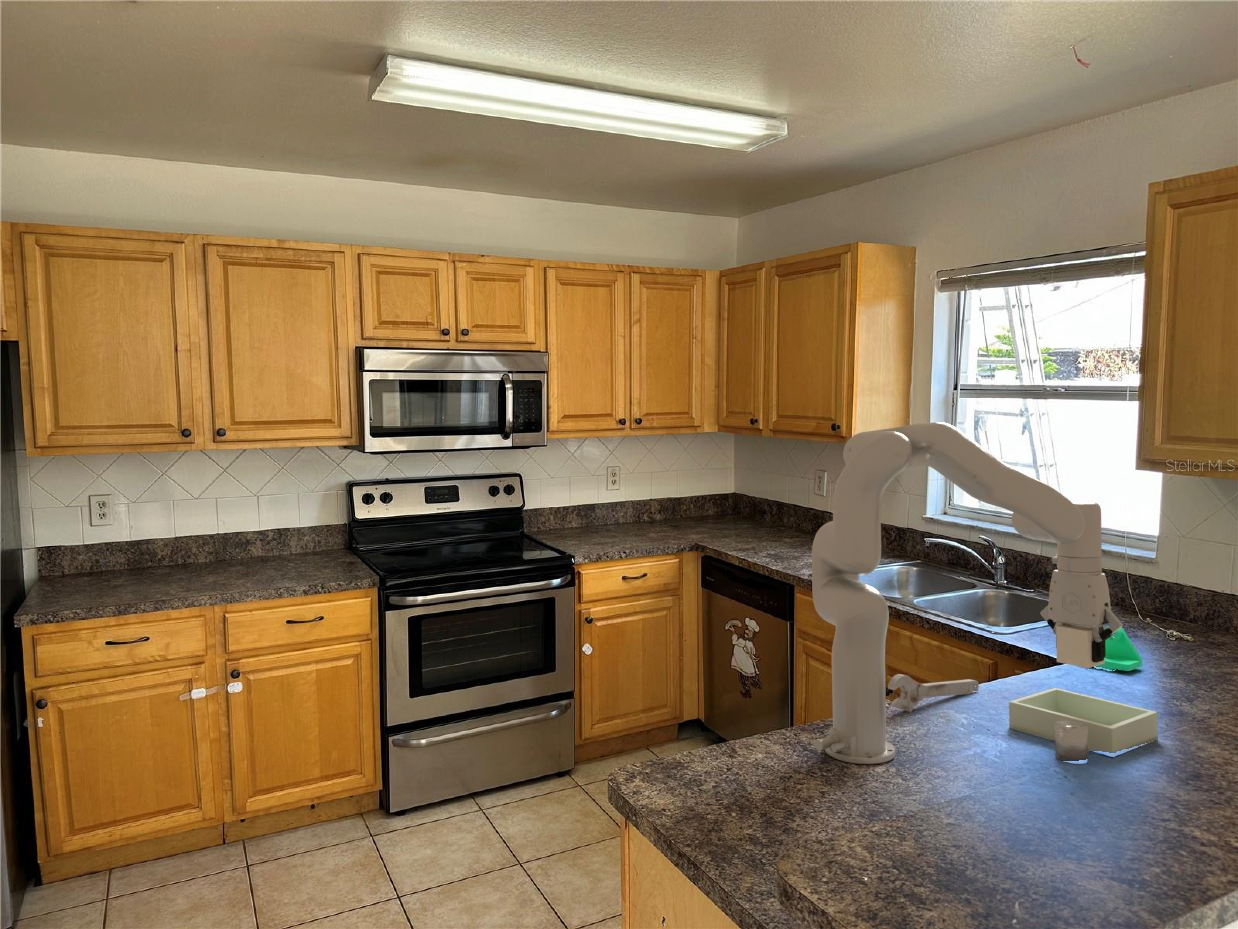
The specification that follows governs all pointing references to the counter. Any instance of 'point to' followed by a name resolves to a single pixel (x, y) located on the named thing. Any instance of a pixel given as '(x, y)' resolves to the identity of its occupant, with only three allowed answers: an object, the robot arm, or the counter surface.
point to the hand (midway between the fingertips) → (1080, 656)
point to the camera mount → (1120, 653)
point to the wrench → (927, 690)
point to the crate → (1084, 719)
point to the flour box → (1075, 645)
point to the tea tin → (1071, 741)
